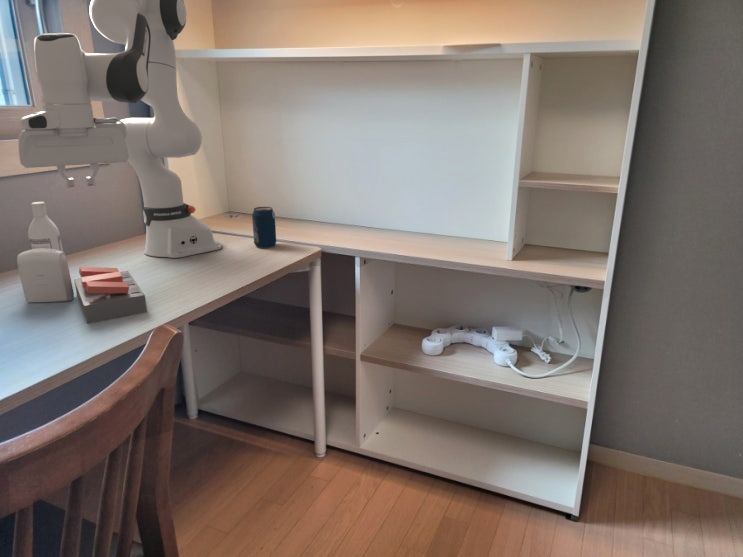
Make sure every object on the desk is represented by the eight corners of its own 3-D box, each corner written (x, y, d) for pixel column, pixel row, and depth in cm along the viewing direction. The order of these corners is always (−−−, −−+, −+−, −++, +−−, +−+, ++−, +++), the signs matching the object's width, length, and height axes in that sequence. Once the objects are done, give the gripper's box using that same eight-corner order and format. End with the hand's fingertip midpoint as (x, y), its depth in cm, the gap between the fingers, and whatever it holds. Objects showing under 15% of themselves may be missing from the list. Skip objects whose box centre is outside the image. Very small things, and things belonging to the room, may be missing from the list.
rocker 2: (119, 277, 127) (119, 271, 127) (122, 281, 124) (121, 275, 124) (81, 283, 123) (80, 277, 123) (83, 288, 120) (82, 282, 120)
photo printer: (22, 304, 125) (11, 252, 121) (32, 297, 129) (21, 246, 125) (69, 302, 126) (59, 251, 122) (77, 296, 130) (68, 246, 126)
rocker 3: (125, 288, 123) (125, 282, 122) (128, 293, 120) (128, 287, 119) (85, 287, 118) (85, 281, 118) (87, 292, 115) (88, 286, 115)
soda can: (279, 243, 175) (278, 206, 171) (270, 249, 168) (268, 211, 164) (260, 242, 176) (257, 205, 172) (250, 248, 170) (247, 210, 166)
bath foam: (55, 273, 146) (41, 199, 139) (74, 276, 143) (60, 201, 136) (31, 281, 140) (14, 204, 133) (49, 285, 137) (34, 206, 130)
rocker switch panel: (130, 285, 137) (127, 268, 135) (147, 311, 121) (144, 292, 119) (76, 294, 131) (73, 276, 129) (87, 323, 115) (83, 303, 113)
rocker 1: (116, 273, 132) (116, 268, 132) (119, 277, 129) (119, 272, 129) (79, 272, 128) (79, 266, 127) (81, 276, 125) (81, 271, 124)
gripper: (121, 116, 119) (130, 180, 124) (11, 119, 109) (25, 188, 113) (127, 118, 114) (135, 184, 119) (11, 120, 104) (26, 192, 108)
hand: (81, 186), depth 116 cm, fingers open, 3 cm apart
